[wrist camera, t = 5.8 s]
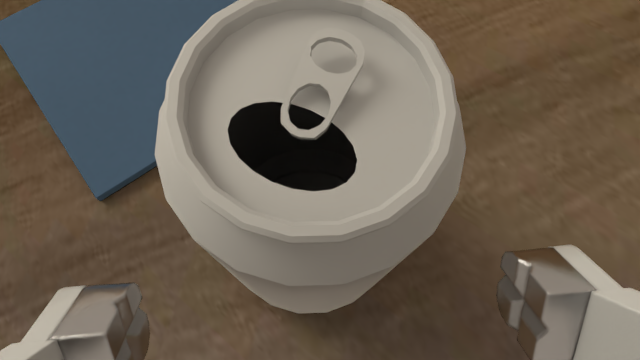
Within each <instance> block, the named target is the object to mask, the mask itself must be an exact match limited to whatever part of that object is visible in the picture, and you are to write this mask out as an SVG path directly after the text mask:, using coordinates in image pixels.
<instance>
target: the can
mask: <svg viewBox="0 0 640 360" xmlns="http://www.w3.org/2000/svg"><path fill="white" fill-rule="evenodd" d="M465 152H466V144H465V138H464V132H463V126H462V120H461V114H460V108H459V104H458V102H457V98H456V92H455V86H454V80H453V76H452V74H451V72H450V70H449V68H448V66H447V64H446V63H445V61H444V59H443V57H442V55H441V53H440V52H439V50H438V48H437V46H436V44H435V42H434V41H433V40H432V39H431V38H430V37H429V36H428V35H427V34H426V33H425V32H424V31H423V30H422V29H421V28H420V27H419V26H418V25H417V24H416V23H415V22H414V21H413V20H411V19H410V18H409V17H408V16H407V15H406V14H405V13H404V12H402V11H400V10H398V9H396V8H394V7H393V6H391V5H389V4H387V3H385V2H383V1H381V0H238V1H236V2H235V3H233V4H231V5H229V6H228V7H226V8H224V9H222V10H221V11H219V12H217V13H215V14H214V15H212V16H211V17H210V18H209V19H208V20H207V21H206V22H205V23H204V24H203V25H202V26H201V27H200V28H199V30H198V31H197V32H196V33H195V34H194V35H193V36H192V37H191V38H190V39H189V40H188V41H187V42H186V43H185V44H184V46H183V48H182V50H181V52H180V54H179V56H178V58H177V60H176V62H175V64H174V67H173V69H172V71H171V73H170V75H169V77H168V79H167V82H166V92H165V100H164V102H163V104H162V106H161V108H160V110H159V118H158V127H157V137H156V146H155V158H156V162H157V166H158V170H159V174H160V178H161V182H162V186H163V190H164V194H165V198H166V200H167V202H168V203H169V205H170V206H171V207H172V209H173V210H174V212H175V213H176V215H177V216H178V218H179V219H180V220H181V222H182V223H183V225H184V226H185V228H186V229H187V231H188V232H189V234H190V235H191V236H192V238H193V239H194V240H195V241H196V242H197V243H198V244H199V245H200V246H201V247H202V248H203V249H205V250H206V251H207V252H208V253H209V254H210V255H211V256H212V257H214V258H215V259H216V260H217V261H218V262H219V263H220V264H221V265H222V266H224V267H225V268H226V269H227V270H228V271H229V272H230V273H231V274H233V275H234V276H235V277H236V278H237V279H238V280H239V281H240V282H241V283H243V284H244V285H245V286H246V287H247V288H248V289H249V290H251V291H252V292H254V293H255V294H256V295H258V296H259V297H261V298H262V299H263V300H265V301H266V302H267V303H269V304H270V305H272V306H275V307H279V308H282V309H285V310H288V311H292V312H295V313H327V312H329V311H332V310H335V309H337V308H340V307H343V306H345V305H348V304H351V303H353V302H354V301H356V300H357V299H358V298H359V297H360V296H362V295H363V294H364V293H365V292H367V291H368V290H369V289H370V288H371V287H373V286H374V285H375V284H376V283H377V282H378V281H380V280H381V279H382V278H383V277H384V276H385V275H386V274H388V273H389V272H390V271H391V270H392V269H393V268H394V267H396V266H397V265H398V264H399V263H400V262H401V261H402V260H404V259H405V258H406V257H407V256H408V255H409V254H410V253H412V252H413V251H414V250H415V249H416V248H417V247H418V246H420V245H421V244H422V243H423V242H424V241H425V240H426V239H428V238H429V237H430V236H431V235H432V234H433V233H434V232H435V230H436V228H437V227H438V225H439V223H440V222H441V220H442V218H443V217H444V215H445V213H446V212H447V210H448V208H449V206H450V205H451V203H452V201H453V200H454V198H455V196H456V195H457V193H458V189H459V184H460V178H461V173H462V168H463V162H464V157H465Z"/></svg>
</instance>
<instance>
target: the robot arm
mask: <svg viewBox="0 0 640 360" xmlns="http://www.w3.org/2000/svg"><path fill="white" fill-rule="evenodd" d="M500 267H501V269H502V270H503V272H504V273H505V274H506V275H505V276H504V277H503V278H502V279H501V280H500V281H499V282H498V285H497V294H496V296H497V303H498V308H499V311H500V313H501V316H502V317H503V319H504V321H505V322H506V324H507V325H508V326H510V327H512V328H514V329H515V330H517V331H518V336H517V341H518V342H519V344H520V345H521V347H522V348H523V350H524V351H525V353H526V354H527V356H528V357H529V359H530V360H640V291H637V290H635V289H632V288H622V287H621V286H620V285H619V284H618V283H617V282H616V281H615V280H613V279H612V278H611V277H610V276H609V275H608V274H607V273H606V272H604V271H603V270H602V269H601V268H600V267H599V266H598V265H597V264H596V263H594V262H593V261H592V260H591V259H590V258H589V257H588V256H587V255H586V254H584V253H583V252H582V251H581V250H580V249H579V248H578V247H576V246H573V245H562V246H553V247H548V248H540V249H529V250H518V251H508V252H505V253H504V255H503V256H502V260H501V266H500ZM141 300H142V295H141V292H140V289H139V286H138V285H137V284H135V283H119V284H103V285H88V286H75V287H64V288H62V289H60V290H58V291H57V293H56V294H55V295H54V297H53V298H52V299H51V301H50V302H49V304H48V305H47V306H46V308H45V309H44V310H43V312H42V313H41V315H40V316H39V317H38V319H37V320H36V321H35V323H34V324H33V326H32V327H31V328H30V330H29V331H28V332H27V334H26V335H25V337H24V338H23V339H22V341H21V342H20V343H13V344H10V345H9V346H7V347H6V348H4V349H2V350H1V351H0V360H144V359H145V356H146V353H147V350H148V347H149V338H150V328H149V321H148V317H147V314H146V313H145V312H143V311H142V310H141V309H140V308H138V307H139V305H140V302H141Z"/></svg>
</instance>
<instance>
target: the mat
mask: <svg viewBox="0 0 640 360" xmlns="http://www.w3.org/2000/svg"><path fill="white" fill-rule="evenodd" d="M236 1H238V0H41V1H39V2H37V3H35V4H33V5H31V6H29V7H27V8H25V9H23V10H21V11H19V12H17V13H15V14H13V15H11V16H9V17H7V18H5V19H3V20H1V21H0V44H1V46H2V47H3V49H4V51H5V52H6V54H7V55H8V57H9V59H10V60H11V62H12V64H13V65H14V67H15V68H16V70H17V72H18V73H19V75H20V76H21V78H22V80H23V81H24V83H25V85H26V86H27V88H28V89H29V91H30V93H31V94H32V96H33V97H34V99H35V101H36V102H37V104H38V106H39V107H40V109H41V110H42V112H43V114H44V115H45V117H46V118H47V120H48V122H49V123H50V125H51V127H52V128H53V130H54V131H55V133H56V135H57V136H58V138H59V139H60V141H61V143H62V144H63V146H64V148H65V149H66V151H67V152H68V154H69V156H70V157H71V159H72V160H73V162H74V164H75V165H76V167H77V169H78V170H79V172H80V173H81V175H82V177H83V178H84V180H85V181H86V183H87V185H88V186H89V188H90V190H91V191H92V193H93V194H94V196H95V198H96V199H98V200H99V201H102V200H103V199H105V198H107V197H108V196H110V195H111V194H113V193H115V192H116V191H118V190H119V189H121V188H123V187H124V186H126V185H127V184H129V183H130V182H132V181H134V180H135V179H137V178H138V177H140V176H142V175H143V174H145V173H146V172H148V171H150V170H151V169H153V168H154V167H156V166H157V162H156V158H155V146H156V137H157V127H158V118H159V110H160V108H161V106H162V104H163V102H164V100H165V92H166V82H167V79H168V77H169V75H170V73H171V71H172V69H173V67H174V64H175V62H176V60H177V58H178V56H179V54H180V52H181V50H182V48H183V46H184V44H185V43H186V42H187V41H188V40H189V39H190V38H191V37H192V36H193V35H194V34H195V33H196V32H197V31H198V30H199V28H200V27H201V26H202V25H203V24H204V23H205V22H206V21H207V20H208V19H209V18H210V17H211V16H212V15H214V14H215V13H217V12H219V11H221V10H222V9H224V8H226V7H228V6H229V5H231V4H233V3H235V2H236Z"/></svg>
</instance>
